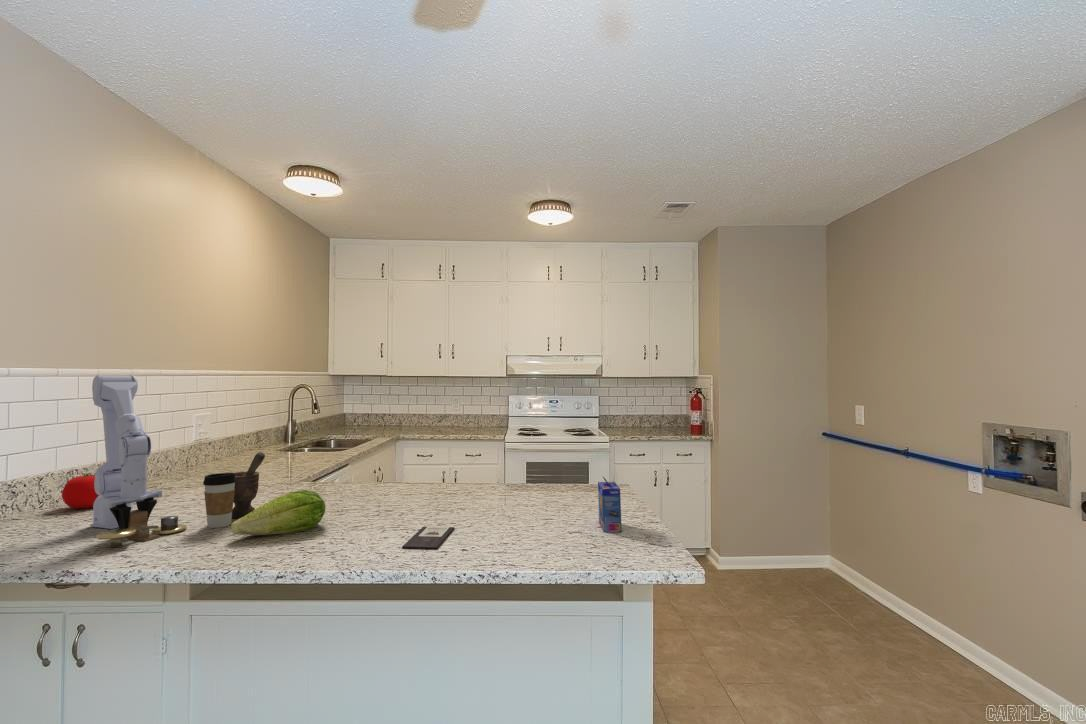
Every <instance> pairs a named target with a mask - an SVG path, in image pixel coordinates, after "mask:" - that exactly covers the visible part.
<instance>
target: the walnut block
mask: <svg viewBox="0 0 1086 724" xmlns="http://www.w3.org/2000/svg"><path fill="white" fill-rule="evenodd" d="M148 522H149V519H148V511H144V510H138V509H133V511H130V514H129V520H128V528H130V527H135V526H148V524H149V523H148ZM135 535H139V530H136V533H134V534H132V535H129V536H126V538H128V537H131V536H135Z"/></svg>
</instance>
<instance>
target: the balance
mask: <svg viewBox="0 0 1086 724" xmlns="http://www.w3.org/2000/svg"><path fill="white" fill-rule="evenodd" d="M186 529H187V525H186V524H179V516H178V515H168V516H163V517H161V518H160V526H159V525H157V524H156V525H154V524H153V525H147V526H135V527H130V528H122V529H119V528H114V529H110V530H105V531H102V532H99V533H97V534H96V535H95V537H96V539H98V540H109V541H110V543H109V546H110V549H115V548H121V547H122V546H123V538H125V537H126V536H129V535H132V534H134V533H136V530H139V535H135V536H131V537H126V538H128V539H127V540H130V541H137V542H143V543H145V542H149V541H152V540H155V539H158V538H161V537H160V535H168V534H174V533H180V532H182V531H185V530H186ZM150 530H151V533H150Z"/></svg>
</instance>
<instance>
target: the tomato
mask: <svg viewBox="0 0 1086 724" xmlns="http://www.w3.org/2000/svg"><path fill="white" fill-rule="evenodd" d="M94 481H95V474H89V473H86V474H83V475H79V476H76V477H75V476H74V477H72V478H70V479H69V480H68V481H67V483H66V484H65V485H64V487H63V489H62V491H61V498H62V501H63V502H64V504H65V505H67V506H68V507H70V508H73V509H80V510H81V509H91V508H92V509H93V505H94V502H95V500H96V498H97V497H98V496H100V495H98V494H96V492H95V488H94Z"/></svg>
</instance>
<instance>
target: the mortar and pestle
mask: <svg viewBox="0 0 1086 724" xmlns="http://www.w3.org/2000/svg"><path fill="white" fill-rule="evenodd" d="M265 457H266V454H265V453H264V452H261V451H259V452H257V453H256V454H255V455H254V457H253V459H252V461H251V463H250V465H249V468H248V469H247V471H245V470H243V471H242V470H241V471H236V472H234V473H235V477H236V482H235V486H234V489H235V493H234V502H233V505H234V506H233V510H232V518H233V519H240V518H242V517H244V516H245V515H247V514H249V513H250V512H252V511H253V510H255V509H256V508H255V507H253V506H252V502H253V500H254V499H256V497H257V494H258V490H259V486H260V485H259V480H260V472H258V471H257V470H258V468H259V467H260V465H262V463H263V461H264V459H265Z"/></svg>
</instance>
